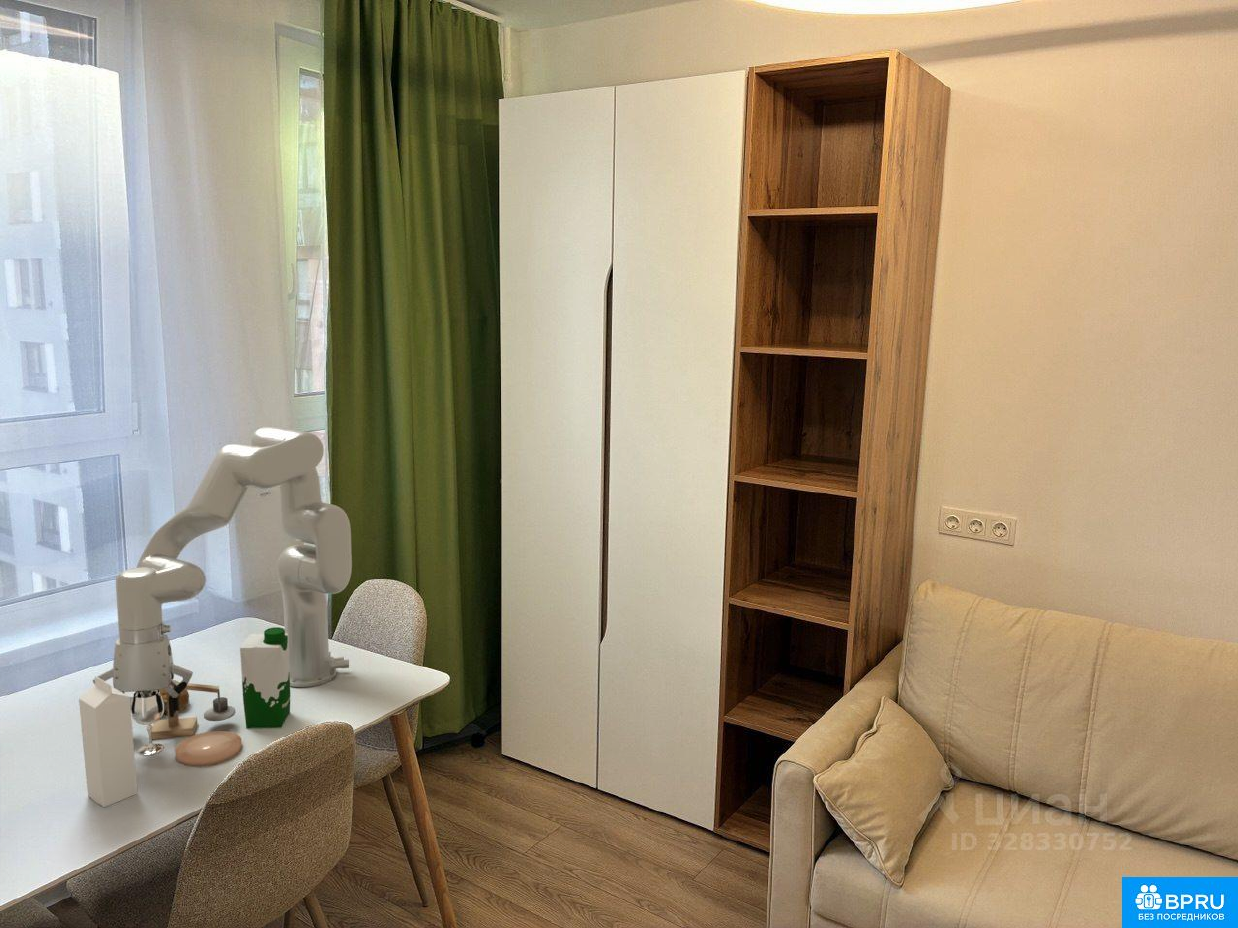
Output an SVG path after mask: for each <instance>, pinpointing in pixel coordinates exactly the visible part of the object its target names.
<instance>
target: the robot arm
mask: <svg viewBox="0 0 1238 928" xmlns="http://www.w3.org/2000/svg"><path fill="white" fill-rule="evenodd" d="M250 442H251V445H250V444H242V443H229V444H226V445H224V446H223V447H221V448H220V449H219V450H218V452H217V453H216V455H215V456H214V458H213V460H212V462H211V464H210V466H209V467H208V469H207V471H206V473H205V475H204V477H203V478H202V480H201V482H200V483H199V486H198V487H197V489H196V491H195V493H194V494H193V497H192V498H191V500H190V502H189V503H188V504H187V505H186V507H185V508H184V509H181V511H179V512H178V513H176V514H174V516H172V517H171V518H170V519H168V521H166V522H165V523H164V524H163V525H162V526H160V528H158V530H157V531H156V532H155V533H154V534H153V535H152V537H151V538H150V539H149V542H148V543H147V545H146V546H145V549H144V550H143V552H142V554H141V556H140V557H139V560H138V562H137V565H136V567H133V568H127V569H125V570H122V571H121V572H119V573H118V575H117V576H116V579H115V590H116V605H117V607H116V608H117V609H116V610H117V624H118V638H117V639H116V641H115V645H114V652H113V663H112V668H111V669H110V670H108V671H106V672H103V673H101V674H100V675H98V676H97V677H98V678H100V679H101V680H103V681H105V682H106V681H108V680H110V679H112V682H113V684H112V685H113V686H112V687H113V688H115V689H117V690H119V691H120V692H124V693H130V692H131V693H135V692H136V691H150V690H162V689H164V690H165V691H166V692H167V693H168V694H170V697H169V716H170V717H174V715H175V712H176V711H178V710H179V694H180V693H181V692H182V691H183V690H184V689H185V688H186V686H187V684H188V683H190V680H191V678H192V677H193V675H194V673H193V671H192V670H189V669H187V668H184V667H182V666H179V665H176V664H174V657H173V651H172V650H173V649H172V646H171V641H170V639H169V636H168V635H167V633H171V632H172V625H169V624H165V623H164V620H163V607H162V606H163V604H168V603H173V602H174V603H175V602H183V601H184V602H185V601H187V600H191V599H194V598H195V597H196V596H198V595H199V594H200V593H201V592H202V591H203V590H204V587H205V585H206V581H207V580H206V575H205V572H204V570H203V569H202V568H201V567H200V566H199V565H197V564H195V563H192V562H189V561H186V560H181V559H178V557H179V555H180V554H181V552H183V550H184V549H185V547H186V546H187V545H188V544H190V543H191V542H192V541H193V540H195V539H196V538H198V537H200V536H202V535H205V534H207V533H210V532H213V531H215V530H218V529H221V528H224V527H226V526H227V525H228V524H230V523H231V521H232V519H233V517H234V516H235V513H236V511H237V510H238V507H239V505H240V504H241V501H242V500H243V498H244V496H245V494H246V493H247V490H248V489H249V488H254V489H258V490H259V489H260V490H266V489H270V488H274V487H275V488H276V487H278V486H279V492H280V495H279V496H280V513H281V525H282V531H283V533H284V535H285V536H286V537H287V538H289V539H290V540H294V541H296V542H299V543H300V542H301V543H305V544H293V545H290V546H288V547H286V548H285V549H283V551H282V552H281V553H280V555H279V557H278V559H277V562H276V563H277V564H276V571H277V577H278V582H279V585H280V588H281V595H282V603H283V604H282V605H283V621H284V622H283V623H284V625H283V628H284V630H285V634H289V672H290V687H293V688H295V687H296V688H307V687H315V686H319V685H322V684H325V683H328V682H329V681H331V680H333V679H334V678H335V677H336V676H337V669H348V668H350V659H345V656H339V657H334V656H332V653H331V651H330V650H329V648H330V647H329V622H328V621H329V620H328V617H329V616H328V602H327V601H328V600H327V597H326V595H333V594H334V595H336V594H339V593H341V592H342V591H344V590H345V589H346V588H347V586H348V584H349V582H350V581H351V580H350V579H351V576H352V568H353V560H352V559H353V558H352V557H353V556H352V530H351V522H350V519H349V517H348V514H347V513H346V512H345V510H344V509H343V508H341V507H339V506H338V505H335V504H331V503H327V502H323V500H322V496H321V487H320V486H321V484H320V477H319V473H318V470H317V467H318V466H319V465H320V463H321V461H322V460H323V457H324V453H325V448H324V444H323V442H322V440H321V439H320V437H319V436H317V435H316V434H314V433H312V432H309V431H304V430H298V429H292V428H286V427H278V426H263V427H260V428H258V429H257V430H255V431H254V432H253V433H252V436H251V441H250ZM307 544H308V545H307ZM313 545H314V546H313ZM175 675H176V676H178V677H180V678H182V680H181V681H180V683H179V684H178V685H177V684H176V683H175V682H174V681H172V679H173V680H175ZM92 683H93V684H94V685H95V678H94V679H93V681H92ZM94 685H93V686H94Z"/></svg>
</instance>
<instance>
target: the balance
mask: <svg viewBox="0 0 1238 928" xmlns="http://www.w3.org/2000/svg"><path fill="white" fill-rule="evenodd" d="M180 682H181V681H180ZM180 682H179V680H178V681H177V680H176V682H175V683H176V684H177V685H178V684H179V683H180ZM184 690H187V691H193V692H196V691H197V692H206V693H215V694H217V697H216V698H214V699H213V700H212V707H211V708H208V709H207V710H205V712H204V713H203V718H204V719H205V720H206V721H209V722H221V721H225V720H226V721H227V720H228V719H231V718H233V717H234V716H235V714H236V708H235V707H233V706H232V705H229V703H228V698H227V697H223V696H221V695H220V694H221V693H220V686H218V685H213V684H212V685H210V684H199V683H193V682H192V683H190V682H188V684H187V686H186V688H185V689H184ZM164 691H165V690H164ZM122 693H124V694H125V693H126V692H122ZM166 695H167V709H168V715H167V719H160V720H158V721H157V722H155V723H153V724H152V732H151V738H152V740H156V739H167V738H176V737H177V738H178V737H185V736H186V737H188V736H189V737H190V736H194V735H195V733H196V728H197V726H198V717H197V716H194V717H182V718H179V712H178V711H176V712H175V715H174V717H170V716H169V697H170V694H168V693H167V692H166ZM129 697H130V708H131V705H132V698H133V696H129Z"/></svg>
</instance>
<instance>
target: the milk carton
mask: <svg viewBox="0 0 1238 928" xmlns="http://www.w3.org/2000/svg"><path fill="white" fill-rule="evenodd" d="M239 651H240V669H241V687H242V701H243V702H242V703H243V710H244V719H245V726H246V727H245V728H246V729H282V728H283V726H284V724H285V722H286V720H287V718H288V717H289V715H290V713H291V686H290V672H289V634H285V628H284V627H276V626H274V627H270V628H267V629H265V630H264V633H250V635H249V636H248V637H247V638H246V640H245V641H244V642H243V643H242V644H241V646H240V647H239Z"/></svg>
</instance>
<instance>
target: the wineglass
mask: <svg viewBox="0 0 1238 928" xmlns="http://www.w3.org/2000/svg"><path fill="white" fill-rule="evenodd" d="M132 697H133V698H132V705H131V718H132V719H133V720H134V721H135V723H136V724H139V725H146V731H147V733H148V744H145V745H143V746H141V747H140V748H139V749H138V751H137V752H138V754H139V755H142V756H151V755H155V754H158V753H160V752H162V751H163V750H164V748H165V747H164V745H163V744H161V743H153V739H152V738H151V732H152V726H153V724H154V723H155V722H157V721H158V720H162V718H163V717H164V716H163V714H164V701H163V697H162V694H161V692H160V690H150V691H136V692H133V694H132ZM162 716H163V717H162Z"/></svg>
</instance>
